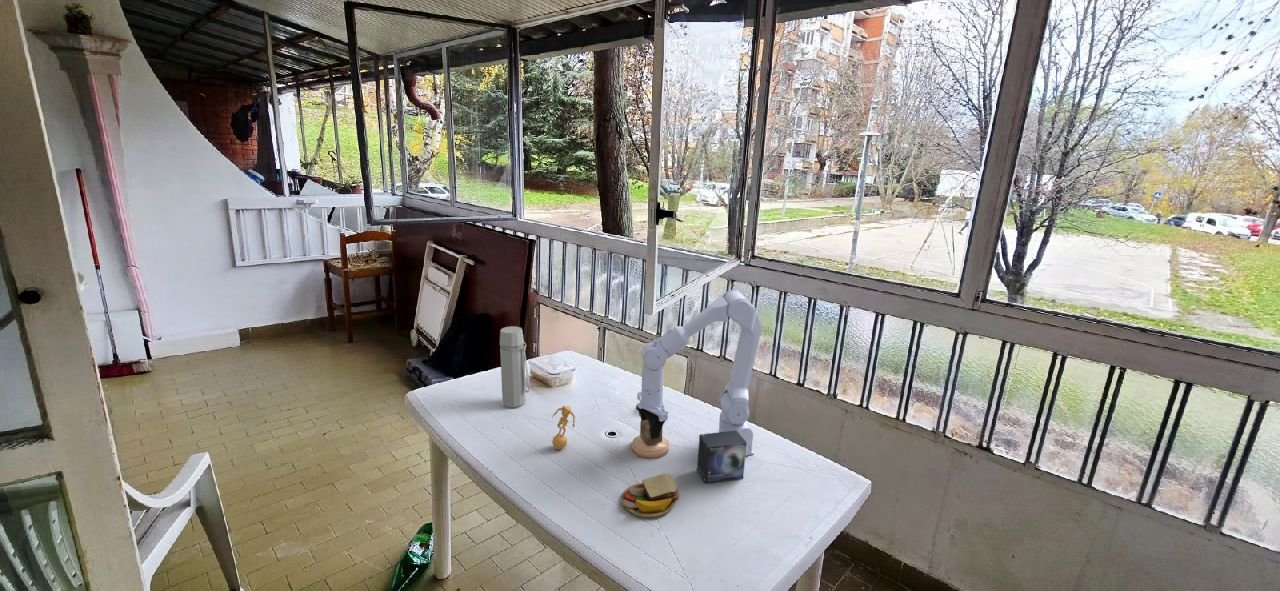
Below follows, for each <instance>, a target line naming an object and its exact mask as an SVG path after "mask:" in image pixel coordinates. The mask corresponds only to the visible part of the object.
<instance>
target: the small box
mask: <svg viewBox="0 0 1280 591" xmlns="http://www.w3.org/2000/svg"><path fill="white" fill-rule="evenodd" d="M698 437H699V439H698V451H697V452H698V453H697V466H696V471H697V473H698V474H699V476H700V477H701V479H702V481H703V482H704V484H711V483H712V484H713V483H718V482H719V483H720V482H726V481H733V480H734V481H735V480H743V479H744V476H745V475H744V474H745V462H746V456H745V454H746V445H747V442H746V441H745V440H744V439H743V437H742V436H741V435H740V434H739V433H738V432H737V430H735V431H727V432H719V431H717V432H713V433H712V432H709V433H701V434H699V436H698Z"/></svg>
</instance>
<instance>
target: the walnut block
mask: <svg viewBox="0 0 1280 591" xmlns="http://www.w3.org/2000/svg"><path fill="white" fill-rule="evenodd" d="M639 424H640V426H639V427H640V428H639V429H640V430H639V435H640V438H641V439H642V440H643V441H644V442H645V444H646V445H651V444H655V443H660V442H662V436H663V429H664V428H663V427H664V425H663V426H662V429H661V432H660V435H659V438H655V439H652V438H651V435H650V427H649V422H648V420H643V421H641V420H640V423H639Z"/></svg>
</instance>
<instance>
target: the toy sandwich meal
mask: <svg viewBox="0 0 1280 591" xmlns="http://www.w3.org/2000/svg"><path fill="white" fill-rule="evenodd" d="M679 499H680V493H679V490H678V486H677V483H676V481H675V479H674V478H673V477H672V476H671V475H670V473H667V472H662V473H661V474H658V475H654V476H651V477H648V478H644V479H642V480H641V482H640V483H639V482H638V483H635V484H632V485H631V486H628V487H627V488H626V489H625V490H624V491H623V492H622V493H621V503H622V505H623V507H624V509H626V510H627V511H629V512H630V513H631V514H633V515H635V516H637V517H641V518H657V517H660V516H663V515H666V513H668V512H669V511H671V510H672V509H673V507H674V506H675V503H676V502H678V500H679Z"/></svg>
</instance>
